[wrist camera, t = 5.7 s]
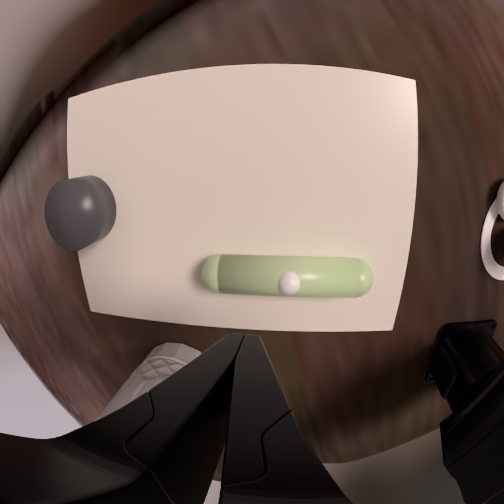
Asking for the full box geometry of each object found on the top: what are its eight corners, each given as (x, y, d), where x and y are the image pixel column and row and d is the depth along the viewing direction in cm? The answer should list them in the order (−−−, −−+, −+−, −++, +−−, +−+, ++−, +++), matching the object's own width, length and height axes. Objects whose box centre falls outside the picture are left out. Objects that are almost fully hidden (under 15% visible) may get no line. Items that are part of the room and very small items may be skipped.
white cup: (216, 337, 23) (175, 433, 13) (230, 401, 25) (205, 487, 16) (135, 333, 24) (75, 406, 14) (157, 393, 26) (118, 465, 17)
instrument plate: (407, 84, 11) (434, 70, 8) (387, 320, 15) (403, 352, 12) (75, 101, 13) (41, 96, 10) (95, 303, 17) (69, 326, 14)
